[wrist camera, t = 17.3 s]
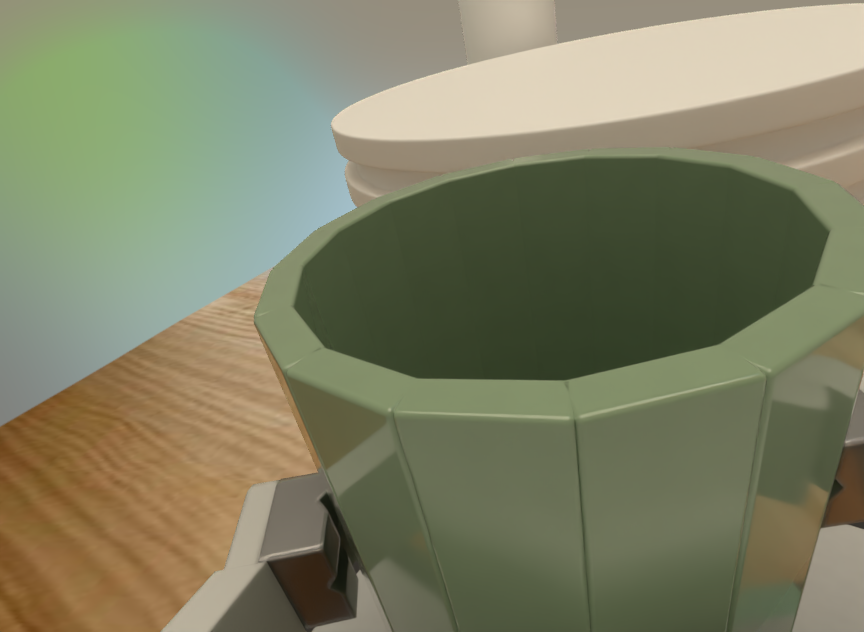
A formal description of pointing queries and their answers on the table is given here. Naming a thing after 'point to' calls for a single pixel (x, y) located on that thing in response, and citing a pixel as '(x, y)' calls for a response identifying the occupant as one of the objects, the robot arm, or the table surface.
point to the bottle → (506, 27)
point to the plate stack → (631, 101)
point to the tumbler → (580, 387)
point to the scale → (819, 608)
